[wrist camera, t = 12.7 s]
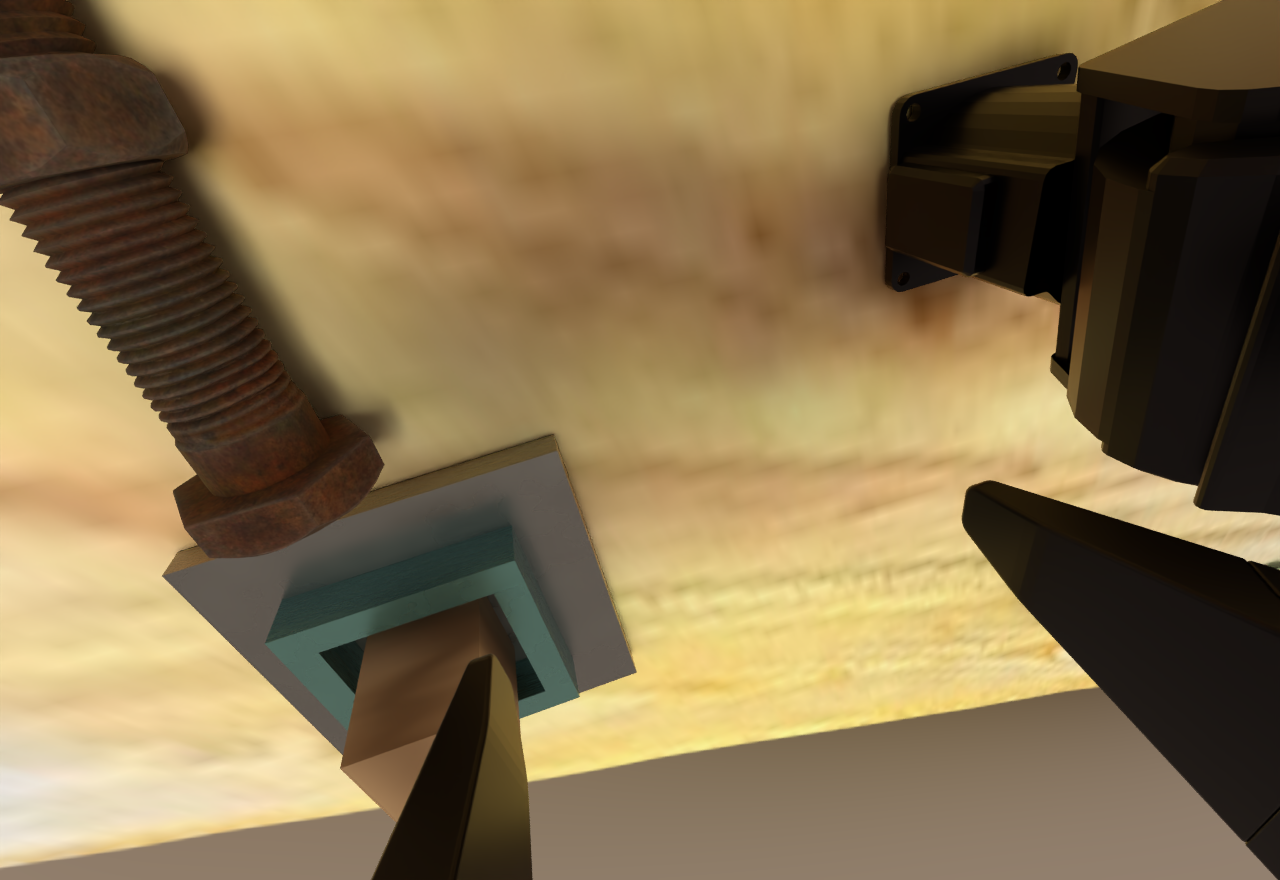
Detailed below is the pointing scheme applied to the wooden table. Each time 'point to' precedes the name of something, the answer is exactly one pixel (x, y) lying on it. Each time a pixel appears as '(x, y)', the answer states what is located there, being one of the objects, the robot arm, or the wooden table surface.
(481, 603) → the walnut peg
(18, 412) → the wooden table surface
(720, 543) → the wooden table surface
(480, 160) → the wooden table surface
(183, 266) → the bolt
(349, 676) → the socket plate
